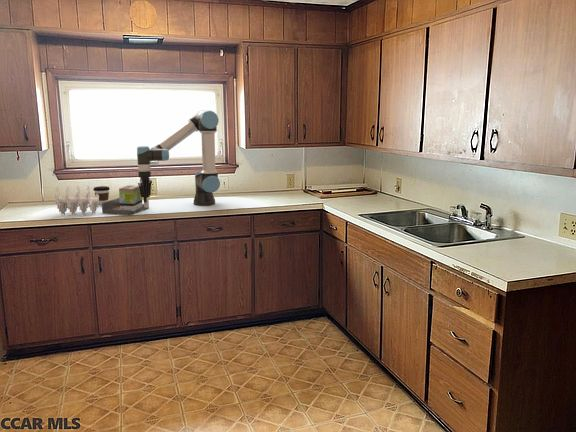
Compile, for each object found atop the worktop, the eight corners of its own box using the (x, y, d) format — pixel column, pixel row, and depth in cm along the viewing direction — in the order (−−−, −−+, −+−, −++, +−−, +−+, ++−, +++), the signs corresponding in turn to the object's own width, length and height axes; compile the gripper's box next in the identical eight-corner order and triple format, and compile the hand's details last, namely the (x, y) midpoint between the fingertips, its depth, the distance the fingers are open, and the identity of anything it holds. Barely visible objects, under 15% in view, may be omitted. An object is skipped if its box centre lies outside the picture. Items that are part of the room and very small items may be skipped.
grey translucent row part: (97, 220, 302) (55, 220, 297) (101, 204, 316) (60, 203, 310) (94, 197, 291) (50, 196, 286) (98, 181, 305) (56, 180, 299)
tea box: (135, 211, 303) (133, 188, 299) (119, 211, 303) (118, 188, 300) (143, 206, 317) (141, 184, 314) (128, 206, 318) (126, 184, 315)
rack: (148, 208, 319) (148, 198, 318) (129, 215, 299) (129, 204, 297) (122, 206, 325) (122, 196, 323) (102, 213, 304) (101, 202, 302)
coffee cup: (105, 206, 327) (104, 188, 324) (91, 205, 329) (89, 188, 327) (114, 203, 337) (112, 186, 335) (100, 202, 340) (98, 185, 337)
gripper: (144, 169, 309) (146, 204, 314) (133, 171, 296) (135, 208, 302) (155, 169, 307) (157, 205, 312) (143, 172, 295) (146, 209, 300)
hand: (146, 207), depth 307 cm, fingers closed
